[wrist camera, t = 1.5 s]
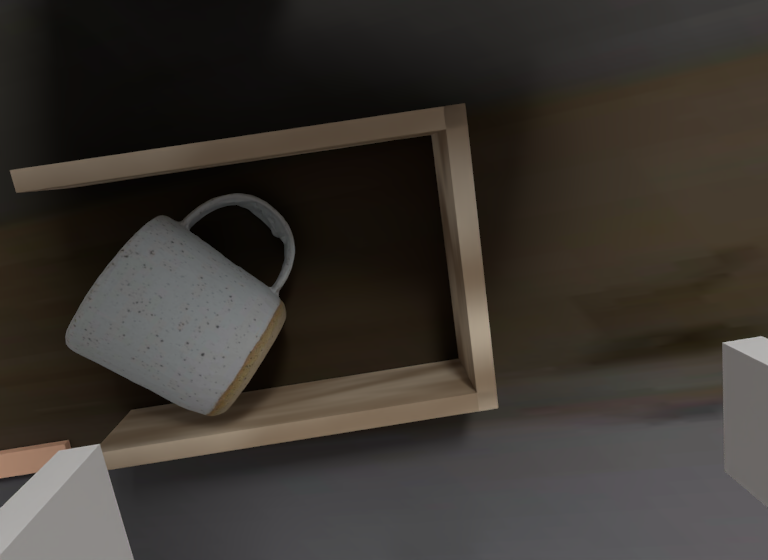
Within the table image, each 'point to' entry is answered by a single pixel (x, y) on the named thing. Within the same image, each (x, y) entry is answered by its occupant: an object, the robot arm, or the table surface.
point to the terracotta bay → (28, 458)
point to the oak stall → (330, 396)
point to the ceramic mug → (184, 311)
